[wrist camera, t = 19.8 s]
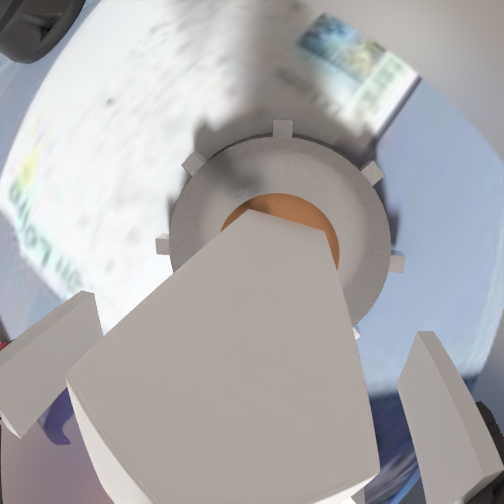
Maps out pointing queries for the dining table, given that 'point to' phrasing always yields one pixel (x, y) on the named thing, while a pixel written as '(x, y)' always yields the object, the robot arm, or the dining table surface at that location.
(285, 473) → the milk
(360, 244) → the sprocket
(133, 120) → the dining table surface
